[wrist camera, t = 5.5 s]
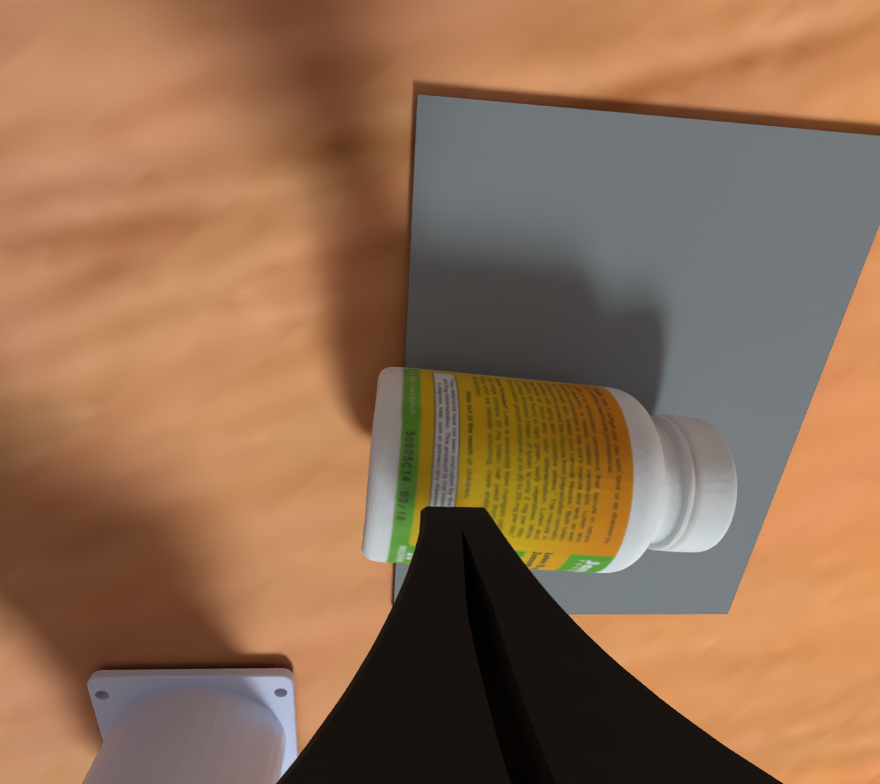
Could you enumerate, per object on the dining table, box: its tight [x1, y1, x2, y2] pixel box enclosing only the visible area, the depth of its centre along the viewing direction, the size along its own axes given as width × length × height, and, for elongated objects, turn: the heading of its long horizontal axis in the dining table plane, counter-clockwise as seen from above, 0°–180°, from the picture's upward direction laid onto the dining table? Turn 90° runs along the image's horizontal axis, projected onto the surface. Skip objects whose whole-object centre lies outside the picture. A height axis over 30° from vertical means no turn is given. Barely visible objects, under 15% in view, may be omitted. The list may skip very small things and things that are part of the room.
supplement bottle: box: [362, 367, 737, 573], centre depth 15 cm, size 5×5×10 cm
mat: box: [394, 94, 880, 614], centre depth 18 cm, size 18×14×1 cm
